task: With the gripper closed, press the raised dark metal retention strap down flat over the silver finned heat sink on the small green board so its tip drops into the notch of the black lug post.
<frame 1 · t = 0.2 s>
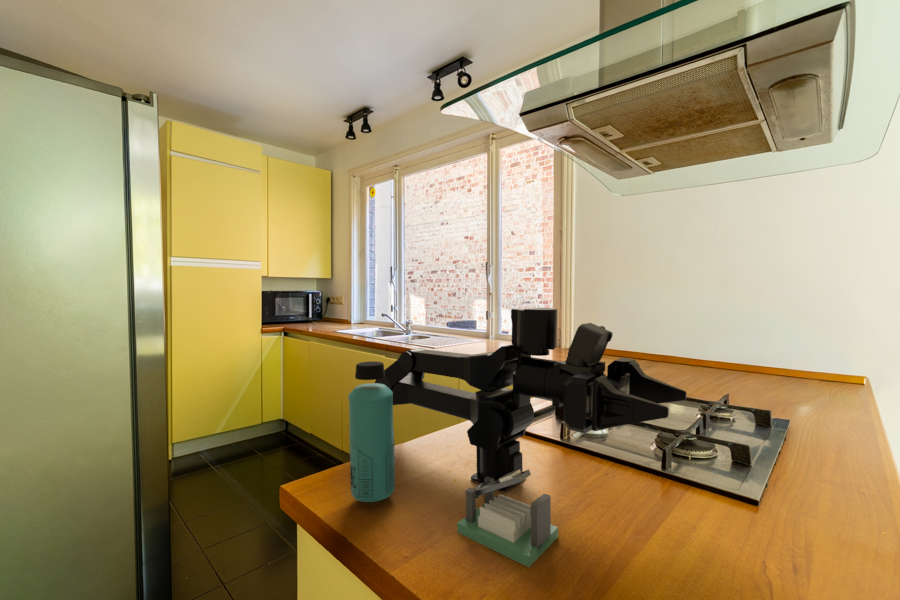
hand: (677, 403, 46), 16 cm above the worktop, tool horizontal, fingers open, 9 cm apart
strap: (499, 483, 49), point 6 cm above the worktop, hinge at 30.0°
beverage bottle: (372, 503, 57), on the worktop
board: (507, 534, 49), on the worktop
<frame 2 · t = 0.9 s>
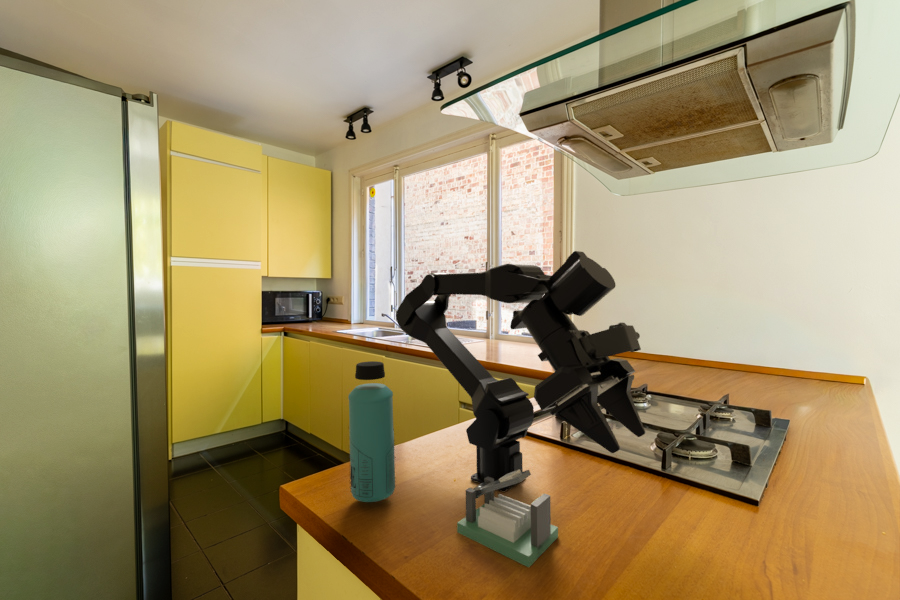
hand: (630, 442, 48), 11 cm above the worktop, tool tilted 40°, fingers open, 9 cm apart
nothing on the worktop moved.
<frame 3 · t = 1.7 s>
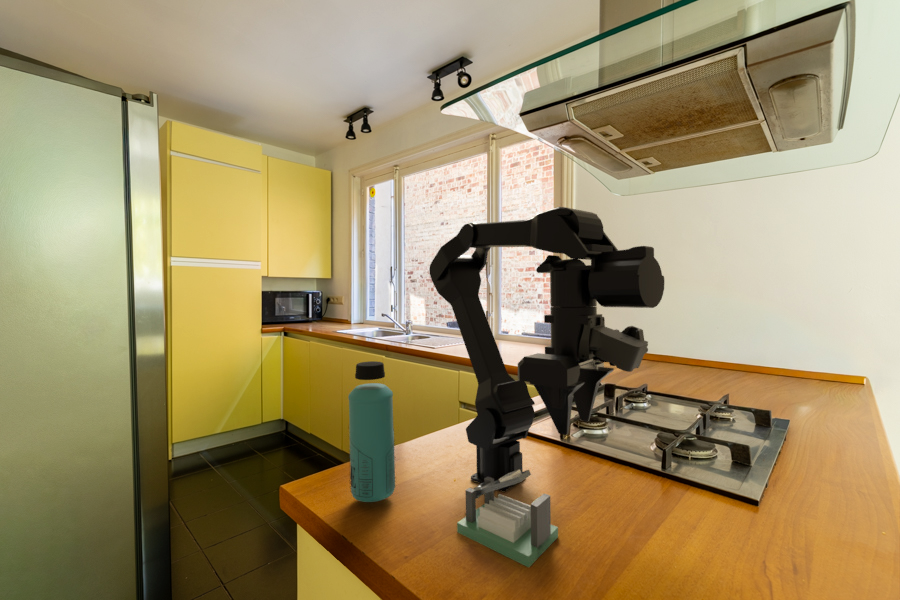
hand: (574, 427, 52), 12 cm above the worktop, tool pointing down, fingers open, 6 cm apart
nothing on the worktop moved.
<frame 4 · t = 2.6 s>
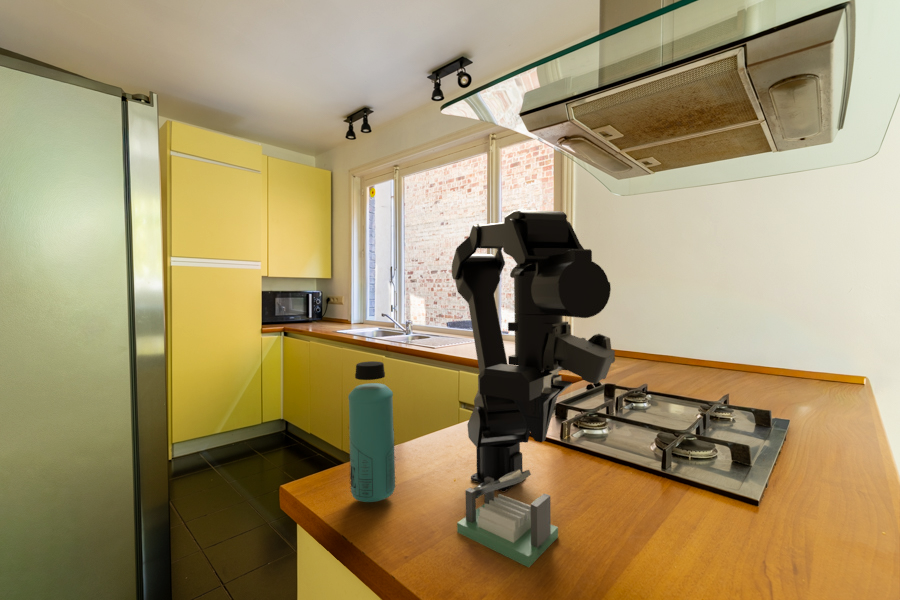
hand: (539, 441, 49), 11 cm above the worktop, tool pointing down, fingers closed
nothing on the worktop moved.
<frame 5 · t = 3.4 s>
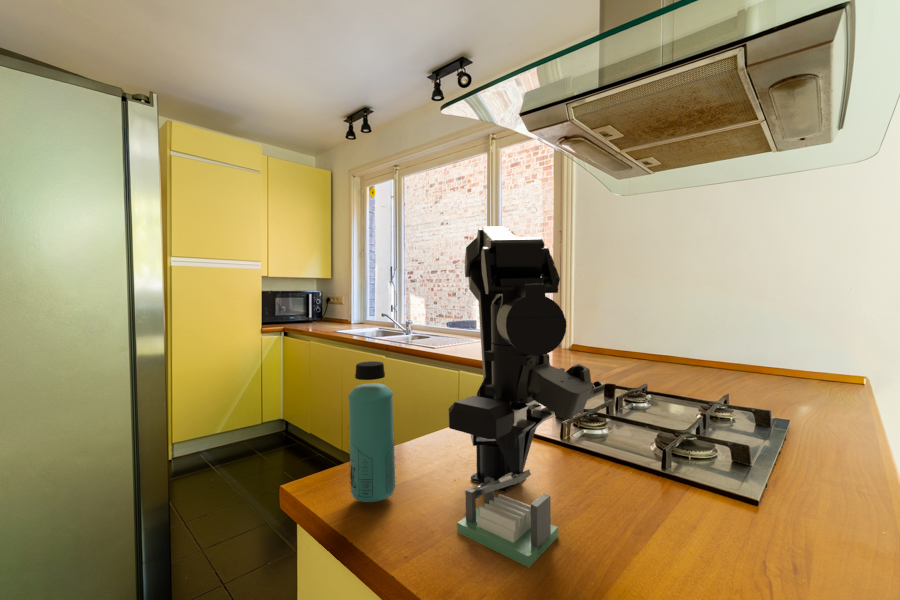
hand: (517, 473, 48), 8 cm above the worktop, tool pointing down, fingers closed, pressing on strap
strap: (499, 483, 49), point 6 cm above the worktop, hinge at 29.9°, touching gripper
everything else where it was.
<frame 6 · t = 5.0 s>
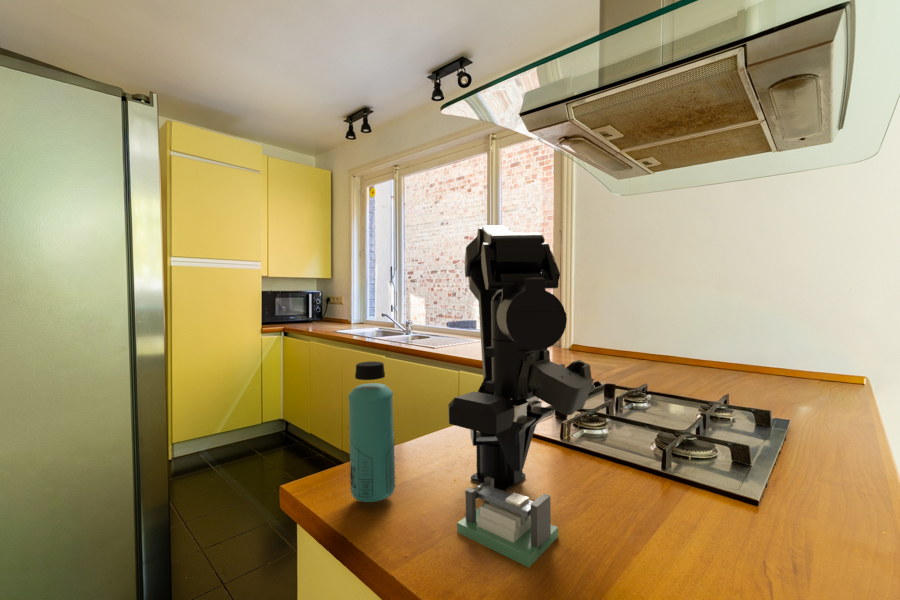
hand: (517, 469, 48), 8 cm above the worktop, tool pointing down, fingers closed
strap: (503, 498, 49), point 4 cm above the worktop, hinge at 0.9°
everything else where it was.
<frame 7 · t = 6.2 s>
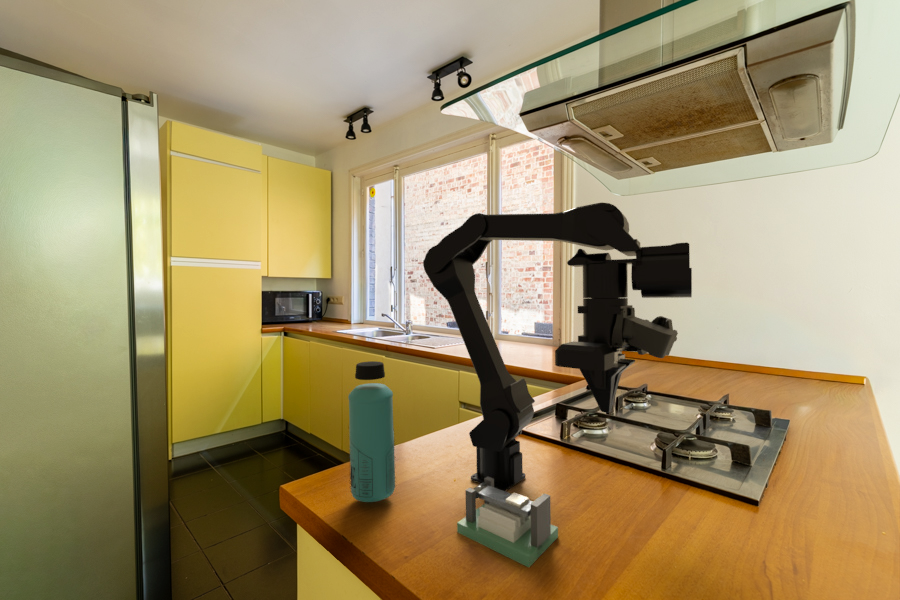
hand: (605, 411, 55), 13 cm above the worktop, tool pointing down, fingers closed
nothing on the worktop moved.
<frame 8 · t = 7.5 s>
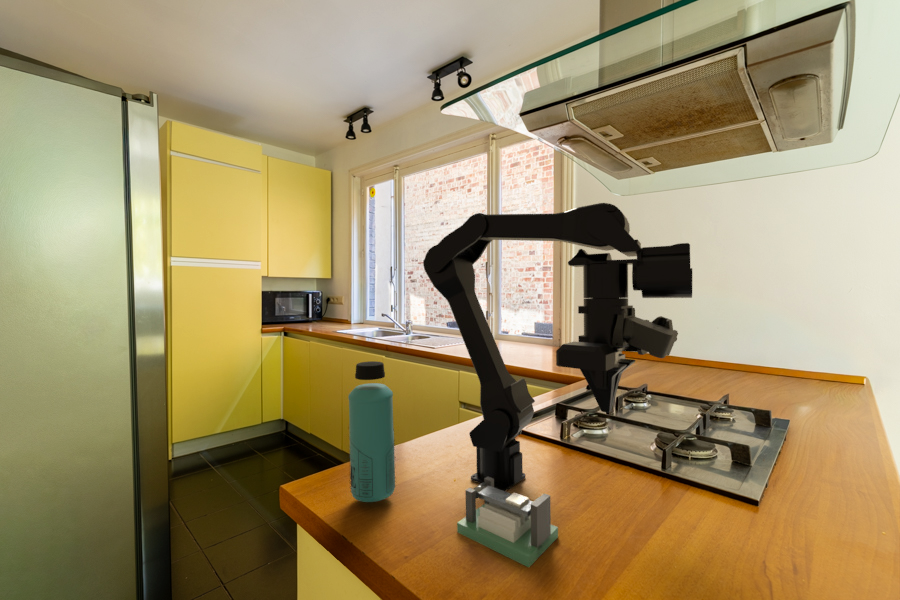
hand: (606, 411, 55), 13 cm above the worktop, tool pointing down, fingers closed
nothing on the worktop moved.
at the end: strap at +1° (first picture: +30°); strap touching nothing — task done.
